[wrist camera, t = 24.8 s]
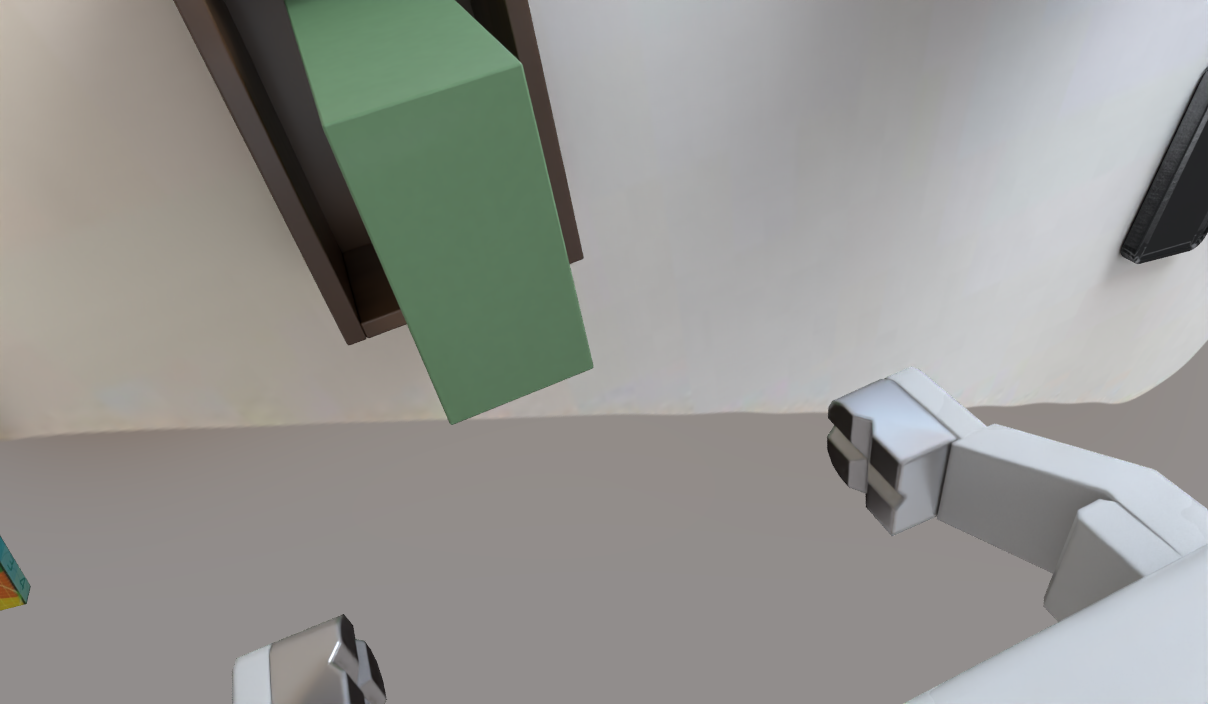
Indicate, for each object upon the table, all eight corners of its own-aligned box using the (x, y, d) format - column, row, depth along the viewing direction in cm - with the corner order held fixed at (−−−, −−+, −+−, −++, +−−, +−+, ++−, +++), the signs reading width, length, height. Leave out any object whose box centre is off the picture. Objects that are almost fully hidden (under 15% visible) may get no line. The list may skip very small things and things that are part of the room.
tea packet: (522, 62, 16) (595, 371, 22) (393, -59, 28) (463, 164, 34) (321, 125, 16) (451, 428, 21) (275, -27, 27) (368, 196, 33)
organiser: (443, -173, 27) (493, -161, 22) (535, 195, 37) (584, 259, 32) (151, -102, 25) (136, -72, 21) (329, 267, 35) (348, 346, 30)
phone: (1128, 266, 58) (1227, 65, 49) (1116, 259, 59) (1210, 60, 50) (1199, 248, 61) (1306, 52, 52) (1186, 241, 61) (1289, 48, 52)
